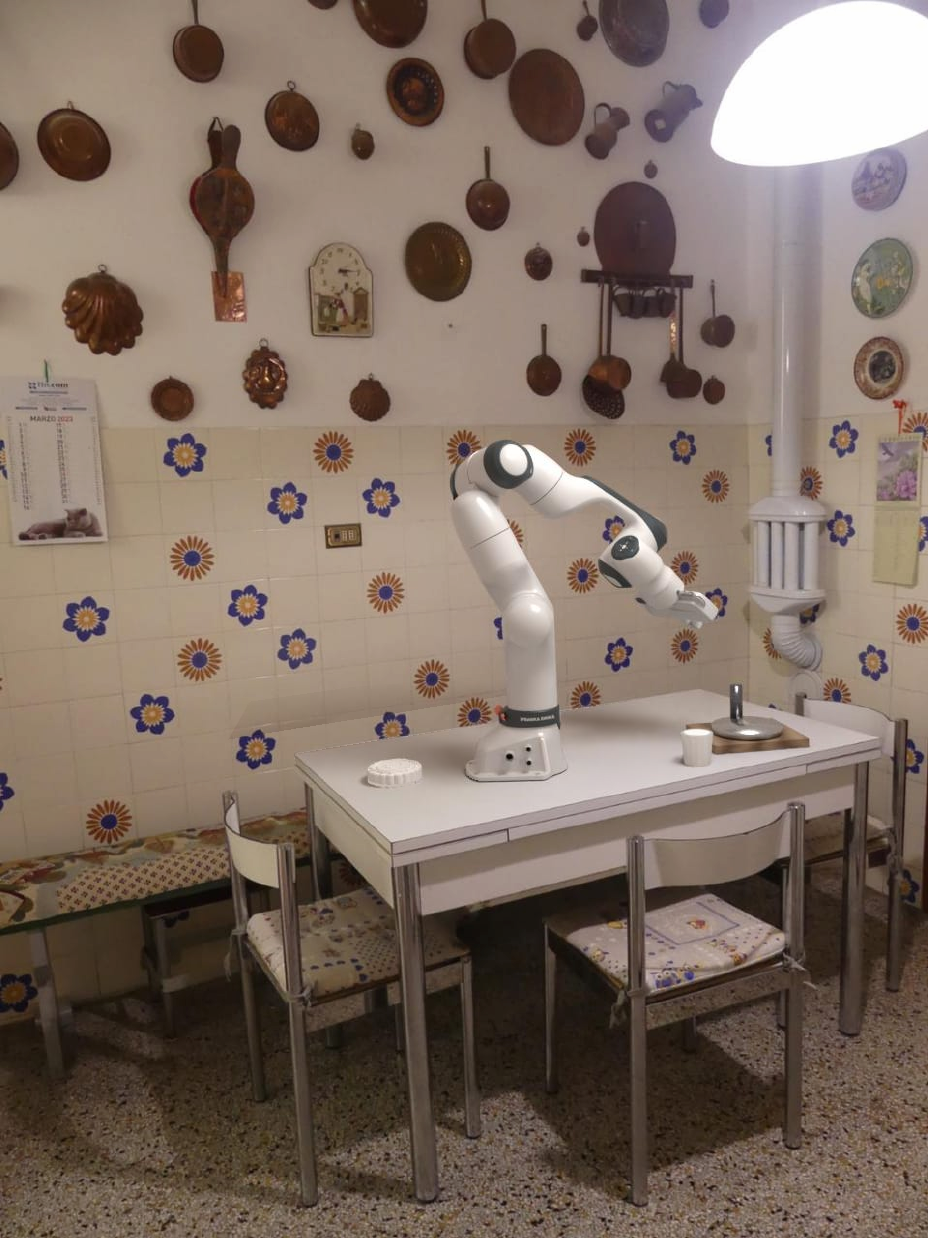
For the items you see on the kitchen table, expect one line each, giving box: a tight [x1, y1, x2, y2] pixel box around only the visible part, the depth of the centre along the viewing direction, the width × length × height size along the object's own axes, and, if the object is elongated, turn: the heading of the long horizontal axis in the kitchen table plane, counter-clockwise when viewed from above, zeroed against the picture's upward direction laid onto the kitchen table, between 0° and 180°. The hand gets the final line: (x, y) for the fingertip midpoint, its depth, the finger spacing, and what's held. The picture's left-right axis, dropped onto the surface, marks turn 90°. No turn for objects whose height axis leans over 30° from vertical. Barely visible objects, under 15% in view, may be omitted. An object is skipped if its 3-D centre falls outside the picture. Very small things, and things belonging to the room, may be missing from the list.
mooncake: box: [366, 757, 423, 785], centre depth 207 cm, size 12×12×4 cm
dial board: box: [685, 717, 810, 755], centre depth 223 cm, size 22×20×2 cm
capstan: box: [712, 683, 784, 740], centre depth 222 cm, size 16×16×10 cm
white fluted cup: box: [680, 729, 713, 768], centre depth 207 cm, size 7×7×7 cm
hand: (696, 626), depth 224 cm, fingers closed
